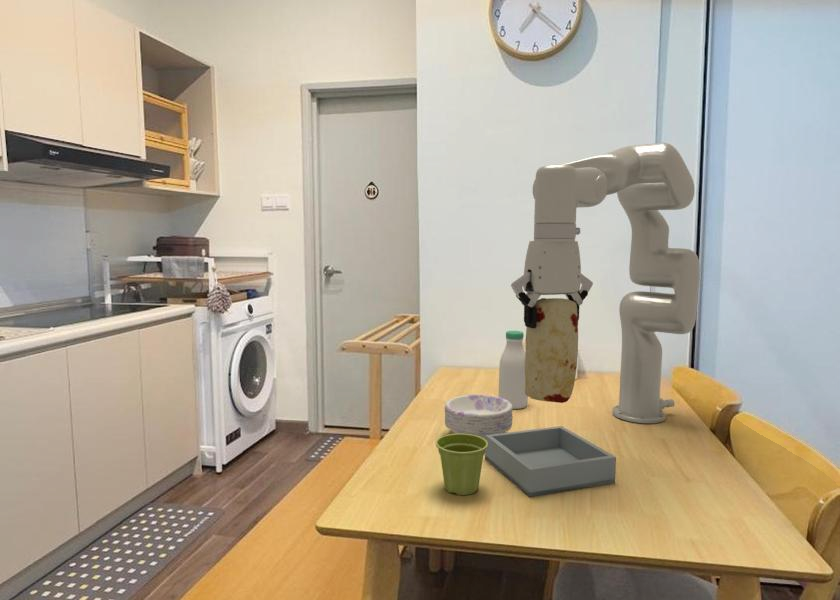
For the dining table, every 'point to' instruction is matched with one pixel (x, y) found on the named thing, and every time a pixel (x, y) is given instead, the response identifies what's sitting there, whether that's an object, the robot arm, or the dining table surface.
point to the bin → (549, 460)
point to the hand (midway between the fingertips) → (551, 325)
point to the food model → (552, 351)
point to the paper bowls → (478, 415)
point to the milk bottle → (513, 371)
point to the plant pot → (461, 461)
